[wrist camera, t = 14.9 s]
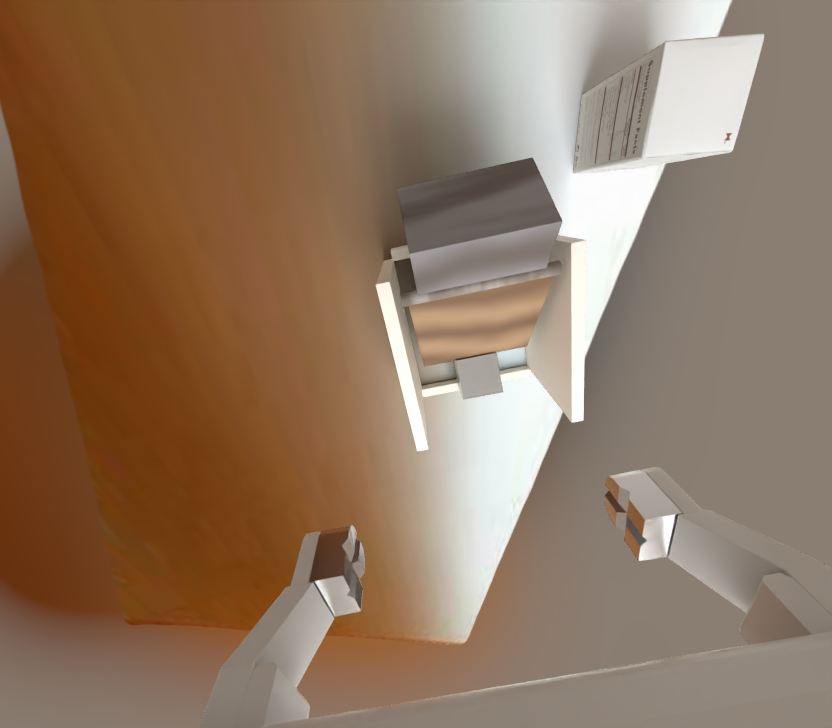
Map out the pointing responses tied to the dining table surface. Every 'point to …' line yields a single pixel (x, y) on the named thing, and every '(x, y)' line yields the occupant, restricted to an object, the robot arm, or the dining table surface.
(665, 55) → the supplement box
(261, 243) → the dining table surface
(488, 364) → the light grey cube
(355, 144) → the dining table surface
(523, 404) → the dining table surface
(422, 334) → the trapdoor
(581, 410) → the frame
